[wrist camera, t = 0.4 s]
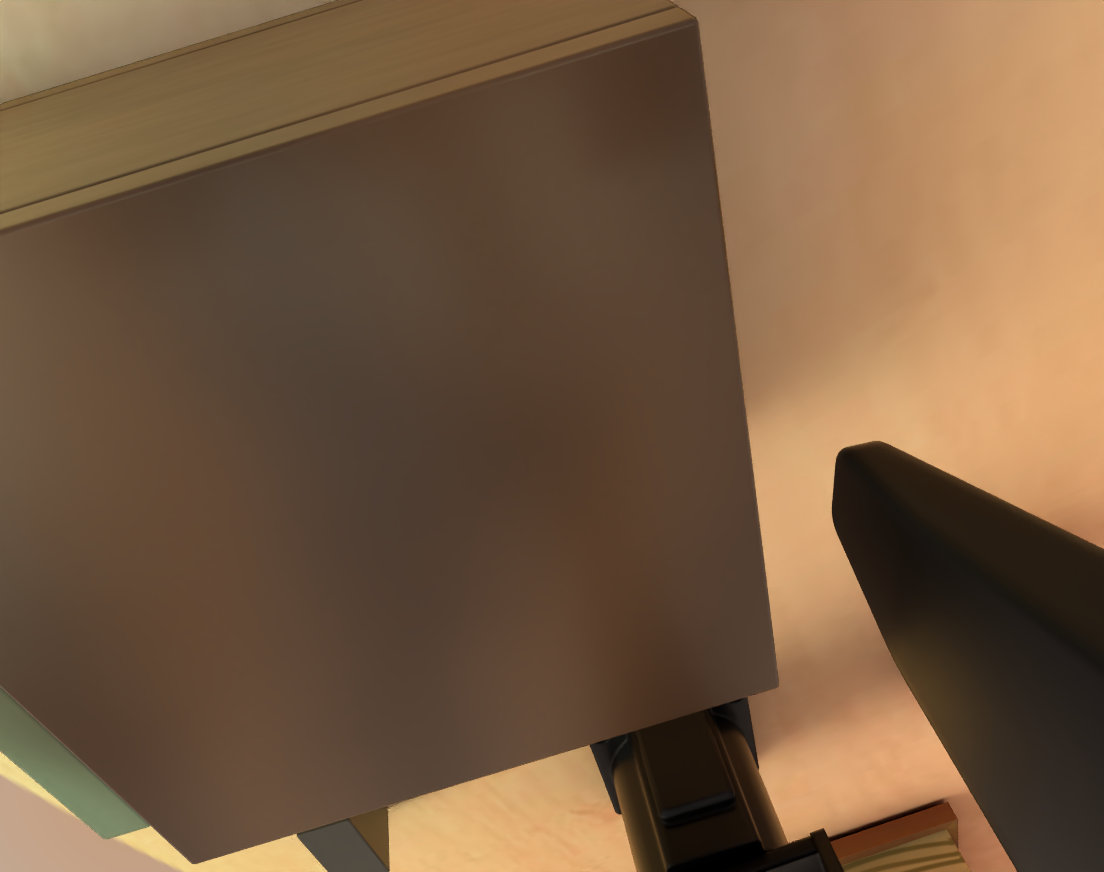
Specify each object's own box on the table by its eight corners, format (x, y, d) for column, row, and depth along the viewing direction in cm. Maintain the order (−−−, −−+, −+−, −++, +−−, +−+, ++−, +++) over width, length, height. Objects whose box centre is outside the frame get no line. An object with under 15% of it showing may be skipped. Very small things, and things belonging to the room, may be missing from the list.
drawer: (-3, 665, 26) (-103, 904, 20) (-418, 274, 17) (-778, 496, 12) (576, 489, 26) (636, 680, 20) (434, 12, 17) (469, 114, 12)
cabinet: (235, 588, 27) (192, 867, 20) (-88, 130, 18) (-375, 345, 11) (671, 455, 27) (780, 688, 20) (566, -71, 18) (699, 16, 11)
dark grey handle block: (388, 810, 35) (390, 872, 33) (341, 824, 35) (340, 887, 33) (294, 678, 30) (290, 744, 28) (239, 695, 30) (230, 762, 28)
